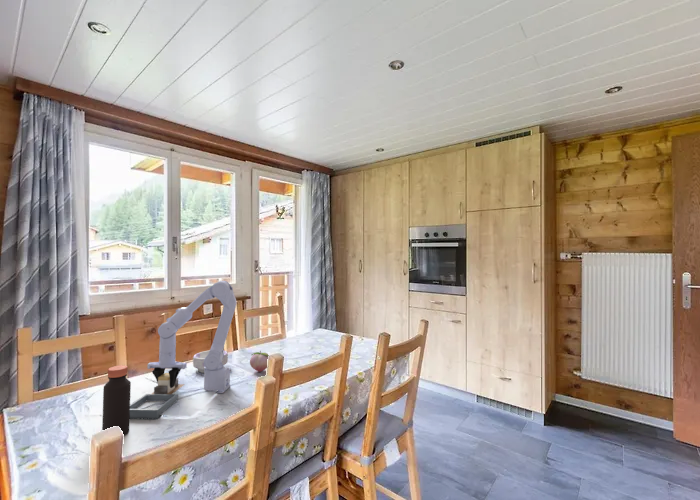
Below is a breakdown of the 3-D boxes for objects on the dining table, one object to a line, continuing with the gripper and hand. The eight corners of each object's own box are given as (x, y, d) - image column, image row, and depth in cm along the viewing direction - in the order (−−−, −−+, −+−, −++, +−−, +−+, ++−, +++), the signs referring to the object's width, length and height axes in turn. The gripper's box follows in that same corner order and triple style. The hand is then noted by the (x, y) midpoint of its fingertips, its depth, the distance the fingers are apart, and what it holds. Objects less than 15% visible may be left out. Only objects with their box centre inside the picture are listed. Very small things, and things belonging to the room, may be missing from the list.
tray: (177, 402, 123) (177, 394, 123) (157, 419, 110) (157, 410, 110) (145, 402, 123) (145, 394, 123) (121, 418, 110) (121, 409, 110)
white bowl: (188, 369, 159) (189, 352, 159) (220, 363, 169) (220, 347, 169) (198, 378, 147) (199, 360, 148) (232, 371, 158) (232, 354, 158)
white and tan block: (174, 388, 134) (175, 373, 134) (168, 393, 129) (168, 377, 129) (164, 387, 134) (165, 372, 134) (157, 392, 129) (158, 377, 129)
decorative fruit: (272, 369, 161) (273, 348, 161) (266, 375, 153) (267, 353, 153) (253, 368, 162) (254, 347, 162) (247, 374, 153) (247, 352, 154)
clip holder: (184, 386, 138) (184, 377, 138) (167, 400, 125) (167, 389, 125) (165, 386, 138) (165, 376, 138) (146, 399, 125) (146, 389, 125)
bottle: (98, 442, 96) (101, 372, 96) (105, 431, 102) (107, 365, 102) (126, 437, 98) (128, 369, 99) (131, 427, 105) (133, 363, 105)
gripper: (190, 349, 136) (189, 383, 135) (155, 349, 136) (154, 382, 135) (181, 354, 129) (180, 390, 128) (144, 354, 129) (143, 389, 128)
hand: (166, 386), depth 131 cm, fingers closed on white and tan block, 4 cm apart
